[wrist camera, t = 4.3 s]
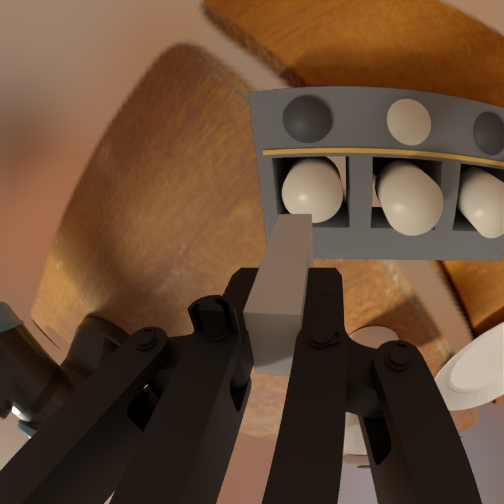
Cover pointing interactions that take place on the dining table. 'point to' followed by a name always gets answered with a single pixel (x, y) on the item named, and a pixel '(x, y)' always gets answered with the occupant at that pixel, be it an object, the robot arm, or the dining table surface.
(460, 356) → the plate
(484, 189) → the button
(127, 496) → the robot arm
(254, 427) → the dining table surface
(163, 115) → the dining table surface
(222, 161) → the dining table surface
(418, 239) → the board
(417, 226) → the button
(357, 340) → the cup
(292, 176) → the button
